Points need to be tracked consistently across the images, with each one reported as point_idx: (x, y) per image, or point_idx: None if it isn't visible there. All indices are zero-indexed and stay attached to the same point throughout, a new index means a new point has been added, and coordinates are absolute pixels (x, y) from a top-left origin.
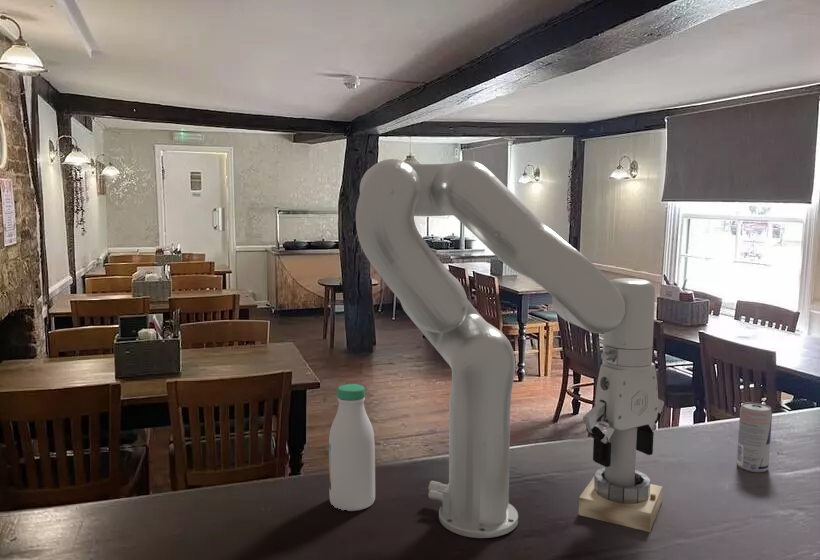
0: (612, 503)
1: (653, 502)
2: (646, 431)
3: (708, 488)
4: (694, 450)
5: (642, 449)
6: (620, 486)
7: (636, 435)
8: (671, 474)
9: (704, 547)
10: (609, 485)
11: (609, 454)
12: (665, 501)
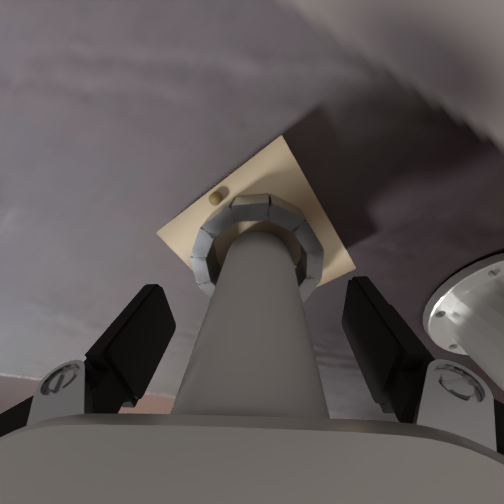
0: (320, 218)
1: (230, 180)
2: (115, 369)
3: (49, 226)
4: (11, 325)
5: (164, 312)
6: (303, 232)
7: (206, 359)
8: (91, 287)
9: (215, 2)
10: (320, 250)
11: (383, 306)
12: (160, 222)
